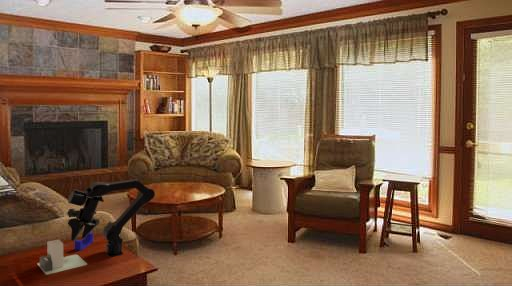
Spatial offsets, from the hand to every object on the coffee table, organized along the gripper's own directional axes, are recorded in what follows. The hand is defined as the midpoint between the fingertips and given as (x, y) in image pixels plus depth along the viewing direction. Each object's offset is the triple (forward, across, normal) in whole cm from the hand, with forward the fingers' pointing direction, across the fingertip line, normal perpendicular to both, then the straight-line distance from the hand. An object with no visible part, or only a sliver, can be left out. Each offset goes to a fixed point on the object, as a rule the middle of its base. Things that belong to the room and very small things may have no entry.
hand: (77, 239), depth 203 cm
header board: (+12, +5, 0) cm, 13 cm away
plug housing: (+12, +7, -2) cm, 15 cm away
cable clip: (+8, -16, -4) cm, 19 cm away
